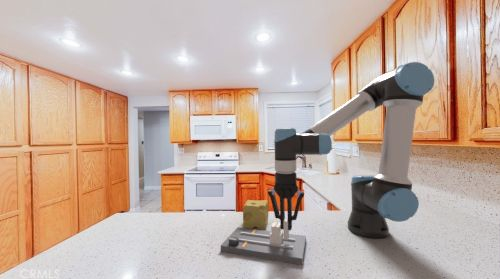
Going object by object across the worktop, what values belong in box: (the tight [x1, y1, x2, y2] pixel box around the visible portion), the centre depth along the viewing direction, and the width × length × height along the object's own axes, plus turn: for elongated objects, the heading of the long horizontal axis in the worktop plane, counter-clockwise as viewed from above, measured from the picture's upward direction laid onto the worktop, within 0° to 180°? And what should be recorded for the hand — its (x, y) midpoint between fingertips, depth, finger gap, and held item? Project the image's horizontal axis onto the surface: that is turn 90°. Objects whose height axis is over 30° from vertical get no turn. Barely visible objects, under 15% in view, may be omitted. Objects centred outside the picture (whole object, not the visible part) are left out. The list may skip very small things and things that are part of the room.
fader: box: [270, 221, 284, 244], centre depth 76 cm, size 4×4×6 cm
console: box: [220, 226, 307, 266], centre depth 77 cm, size 28×16×4 cm, turn 71°
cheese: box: [242, 199, 269, 230], centre depth 97 cm, size 10×11×10 cm
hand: (286, 238), depth 75 cm, fingers closed
